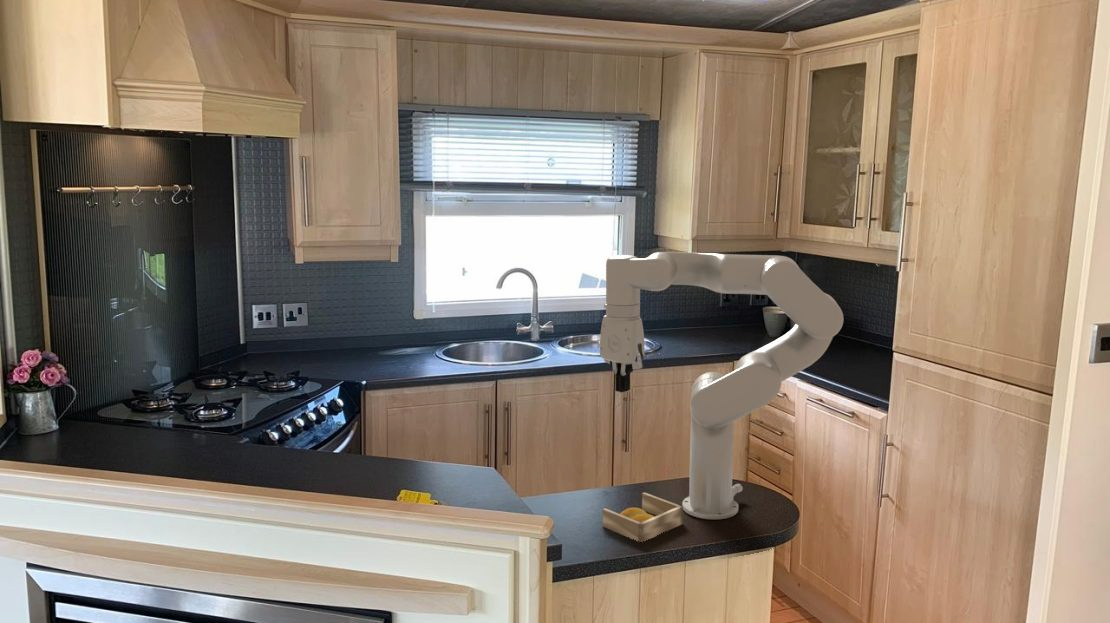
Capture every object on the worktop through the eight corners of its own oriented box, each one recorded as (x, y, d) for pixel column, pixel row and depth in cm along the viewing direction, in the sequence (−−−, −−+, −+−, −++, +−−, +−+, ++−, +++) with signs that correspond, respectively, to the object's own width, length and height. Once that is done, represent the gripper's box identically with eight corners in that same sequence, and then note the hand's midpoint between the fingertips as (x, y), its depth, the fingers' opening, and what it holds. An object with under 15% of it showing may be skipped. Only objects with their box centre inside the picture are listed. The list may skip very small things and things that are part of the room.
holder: (644, 508, 197) (644, 492, 197) (682, 523, 189) (683, 506, 189) (602, 526, 188) (602, 509, 188) (641, 543, 180) (641, 525, 180)
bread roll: (635, 540, 182) (635, 522, 181) (610, 525, 189) (610, 508, 189) (666, 531, 186) (666, 514, 185) (640, 517, 194) (640, 500, 193)
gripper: (587, 309, 195) (587, 387, 199) (636, 317, 185) (636, 400, 188) (610, 304, 200) (610, 381, 204) (659, 313, 190) (658, 394, 193)
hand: (622, 390), depth 196 cm, fingers closed
